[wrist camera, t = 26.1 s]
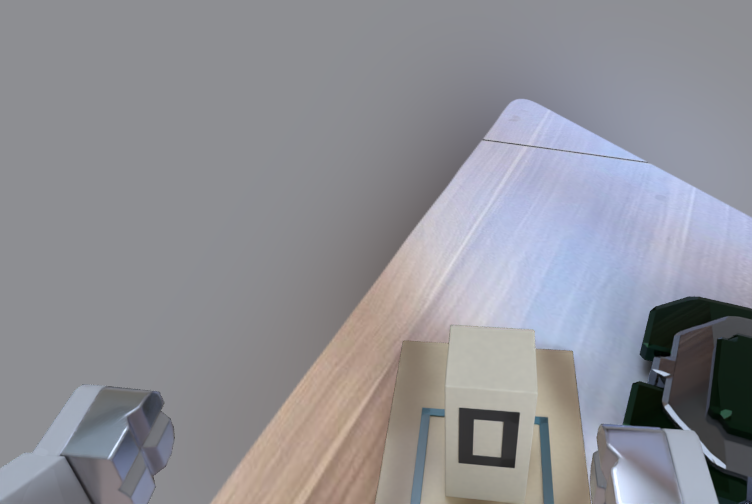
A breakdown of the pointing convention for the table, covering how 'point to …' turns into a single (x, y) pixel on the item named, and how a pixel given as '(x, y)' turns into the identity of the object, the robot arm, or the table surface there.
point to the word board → (427, 433)
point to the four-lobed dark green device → (701, 385)
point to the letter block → (489, 412)
